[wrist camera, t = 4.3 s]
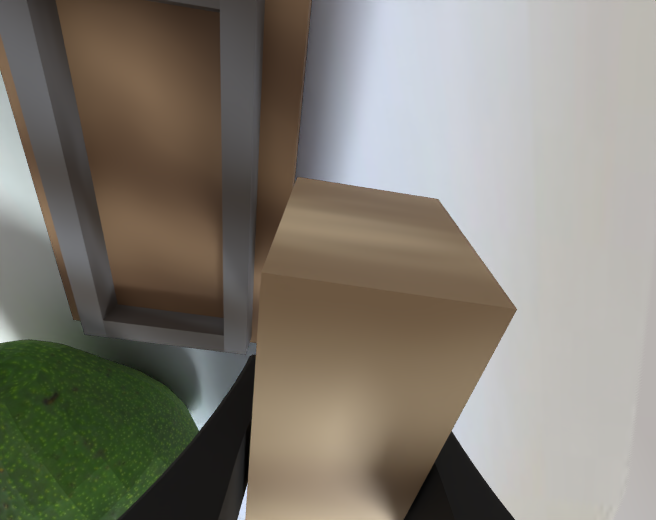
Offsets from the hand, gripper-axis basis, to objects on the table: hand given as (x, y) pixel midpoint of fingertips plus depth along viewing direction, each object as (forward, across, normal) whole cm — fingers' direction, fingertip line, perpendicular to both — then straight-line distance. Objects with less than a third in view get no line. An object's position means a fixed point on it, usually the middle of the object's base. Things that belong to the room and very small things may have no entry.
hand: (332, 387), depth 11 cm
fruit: (+9, +12, +12) cm, 19 cm away
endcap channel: (+8, +9, -3) cm, 12 cm away
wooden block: (+2, 0, 0) cm, 2 cm away
